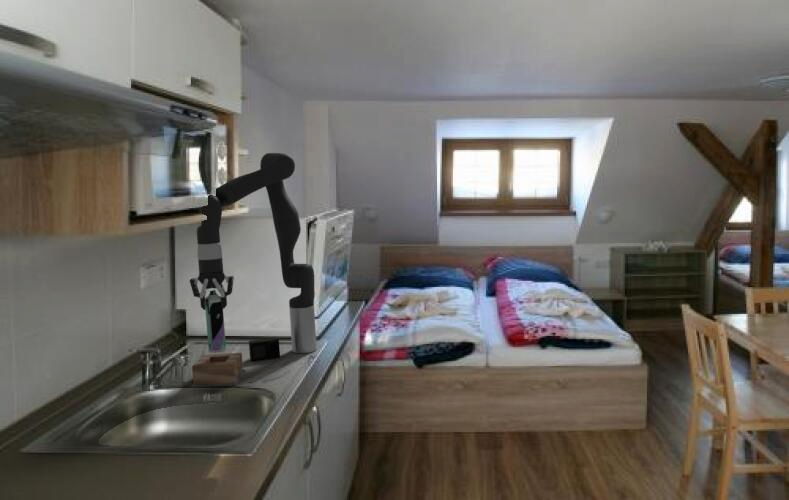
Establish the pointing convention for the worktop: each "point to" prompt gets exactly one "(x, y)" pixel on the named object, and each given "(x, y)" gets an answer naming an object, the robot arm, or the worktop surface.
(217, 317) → the spray can
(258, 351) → the digital camera
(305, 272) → the robot arm
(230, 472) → the worktop surface
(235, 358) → the socket block
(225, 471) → the worktop surface
